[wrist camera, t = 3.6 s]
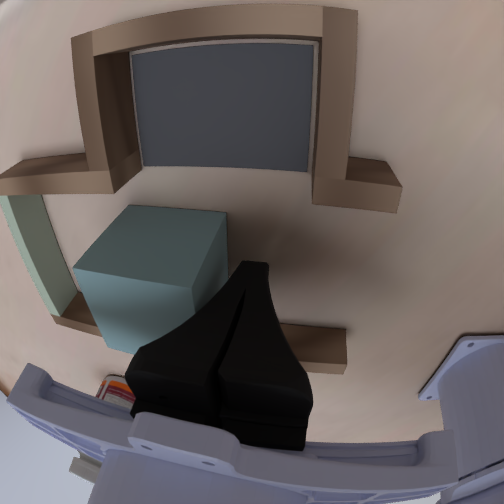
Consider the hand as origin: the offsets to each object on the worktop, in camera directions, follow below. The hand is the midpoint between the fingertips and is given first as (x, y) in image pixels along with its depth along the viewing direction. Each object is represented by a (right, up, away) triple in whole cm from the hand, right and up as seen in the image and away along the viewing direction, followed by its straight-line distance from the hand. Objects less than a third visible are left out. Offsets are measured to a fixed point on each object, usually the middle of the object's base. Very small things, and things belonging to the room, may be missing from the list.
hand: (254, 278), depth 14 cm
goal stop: (-13, +2, +3) cm, 13 cm away
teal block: (-4, +1, +2) cm, 4 cm away
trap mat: (-1, +7, -3) cm, 8 cm away
